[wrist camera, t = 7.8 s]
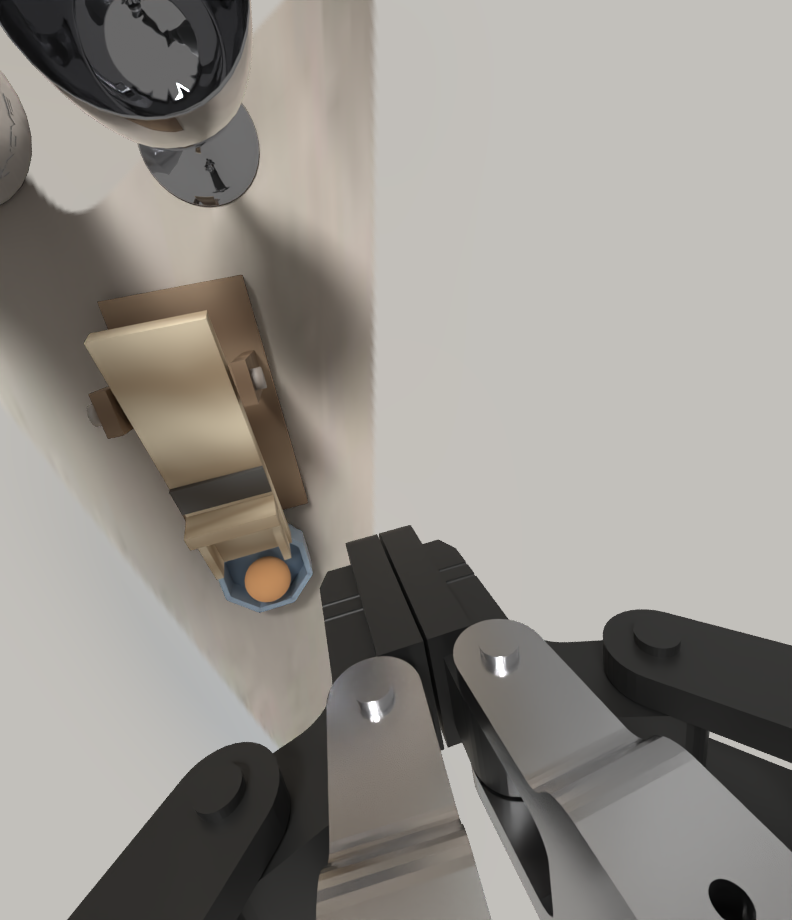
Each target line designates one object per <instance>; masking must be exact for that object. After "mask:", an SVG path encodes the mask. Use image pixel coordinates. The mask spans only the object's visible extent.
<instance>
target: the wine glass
mask: <svg viewBox="0 0 792 920" xmlns="http://www.w3.org/2000/svg"><path fill="white" fill-rule="evenodd" d="M0 25H1V27H2V28H3V30H4V31H5V33H6V34H7V35H8V37H9V38H10V39H11V40H12V42H13V43H14V44H15V45H16V46H17V47H18V49H19V50H20V51H21V52H22V53H23V54H24V55H25V56H26V58H27V59H28V60H29V61H30V62H31V64H32V65H33V66H34V67H35V68H36V69H37V70H38V71H39V72H40V73H41V74H42V75H43V76H44V77H45V78H46V79H47V80H48V81H49V82H50V83H51V84H52V85H54V86H55V87H56V88H57V89H58V90H59V91H60V92H61V93H63V94H64V95H65V96H66V97H67V98H68V99H69V100H71V102H73V103H74V104H75V105H76V106H77V107H78V108H80V109H81V110H82V111H83V112H84V113H86V114H87V115H88V116H90V117H92V118H93V119H94V120H96V121H97V122H99V123H100V124H102V125H103V126H105V127H107V128H109V129H110V130H112V131H113V132H115V133H117V134H119V135H121V136H123V137H125V138H127V139H130V140H131V141H133V142H136V143H137V144H138V147H139V151H140V154H141V156H142V158H143V160H144V162H145V164H146V166H147V168H148V169H149V171H150V172H151V174H152V175H153V176H154V177H155V179H156V180H157V181H158V182H159V183H160V184H161V185H162V186H163V187H164V188H165V189H166V190H167V191H169V192H170V193H172V194H173V195H175V196H176V197H178V198H180V199H182V200H184V201H186V202H188V203H192V204H195V205H199V206H209V207H210V206H220V205H223V204H227V203H229V202H231V201H233V200H235V199H237V198H238V197H239V196H241V195H242V194H243V193H244V192H245V191H246V190H247V188H248V187H249V186H250V185H251V183H252V181H253V179H254V177H255V174H256V171H257V167H258V162H259V142H258V137H257V132H256V129H255V126H254V124H253V121H252V119H251V117H250V115H249V113H248V111H247V109H246V108H245V107H244V105H243V104H242V101H243V99H244V95H245V91H246V88H247V84H248V80H249V75H250V69H251V60H252V50H253V36H252V12H251V0H0Z"/></svg>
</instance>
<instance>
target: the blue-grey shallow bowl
mask: <svg viewBox="0 0 792 920" xmlns="http://www.w3.org/2000/svg"><path fill="white" fill-rule="evenodd" d="M288 526H289V529H290V532H291V538H292V543H289V544H290V551H291V558H290V559H286V560H284V558H283V555H282V553H281V550H280V548H279V547H275V548H272V549H268V550H265V551H261V552H258V553H254V554H251V555H247V556H244V557H240V558H237V559H234V560H230V561H227V562H224V578H222V579H218V580H219V583H220V585H221V588H222V590H223V593H224V596H225V598H226V600H227V601H230V602H233V603H235V604H238V605H241V606H243V607H246V608H248V609H251V610H254V611H256V612H259V613H260V612H264V611H267V610H270V609H273V608H277V607H280V606H283V605H286V604H290V603H293V602H295V601H296V599H297V598H298V596H299V594H300V593H301V591H302V590H303V588H304V587H305V585H306V584H307V582H308V581H309V579H310V577H311V576H312V574H313V572H312V564H311V558H310V555H309V551H308V548H307V544H306V541H305V538H304V535H303V532H302V531H301V530H299V529H297V528H295V527H294V526H292V525H291V524H289V523H288ZM266 556H273V557H277V558H279V559H281V560H283V561H284V562H285V563H286V564H287V566H288V568H289V570H290V573H291V582H290V586H289V588H288V590H287V591H286V593H285V594H284V595H283V596H282V597H281V598H279V599H277V600H275V601H272V602H260V601H257V600H255V599H254V598H252V597H251V596H250V595H249V593H248V592H247V590H246V587H245V575H246V572H247V570H248V568H249V566H250V565H251V564H252V563H253V562H254V561H256V560H257V559H259V558H262V557H266Z"/></svg>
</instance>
